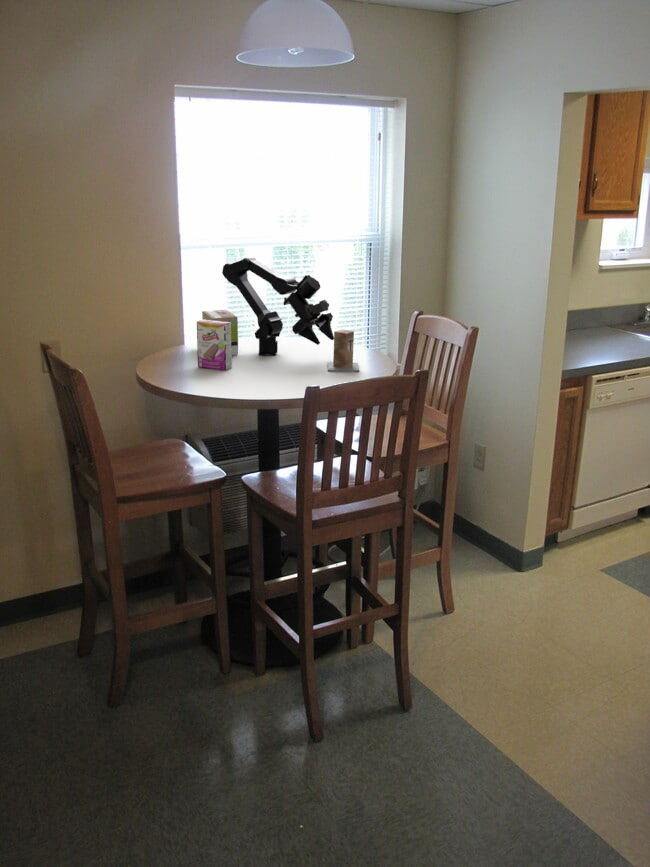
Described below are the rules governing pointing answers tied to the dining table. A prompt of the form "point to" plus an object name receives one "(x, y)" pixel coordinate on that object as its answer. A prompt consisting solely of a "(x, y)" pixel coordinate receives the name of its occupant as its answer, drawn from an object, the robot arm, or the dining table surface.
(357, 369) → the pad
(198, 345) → the candy bar box
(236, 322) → the tea box
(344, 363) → the letter block
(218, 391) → the dining table surface
